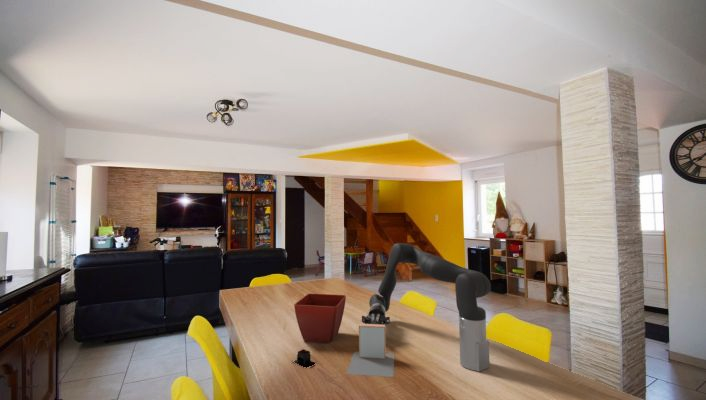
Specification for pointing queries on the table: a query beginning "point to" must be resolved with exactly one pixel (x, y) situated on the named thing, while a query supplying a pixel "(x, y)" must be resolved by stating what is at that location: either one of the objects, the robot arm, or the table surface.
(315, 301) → the plant pot
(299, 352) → the black blocky piece
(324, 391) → the table surface
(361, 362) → the mat
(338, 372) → the table surface
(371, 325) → the tile
